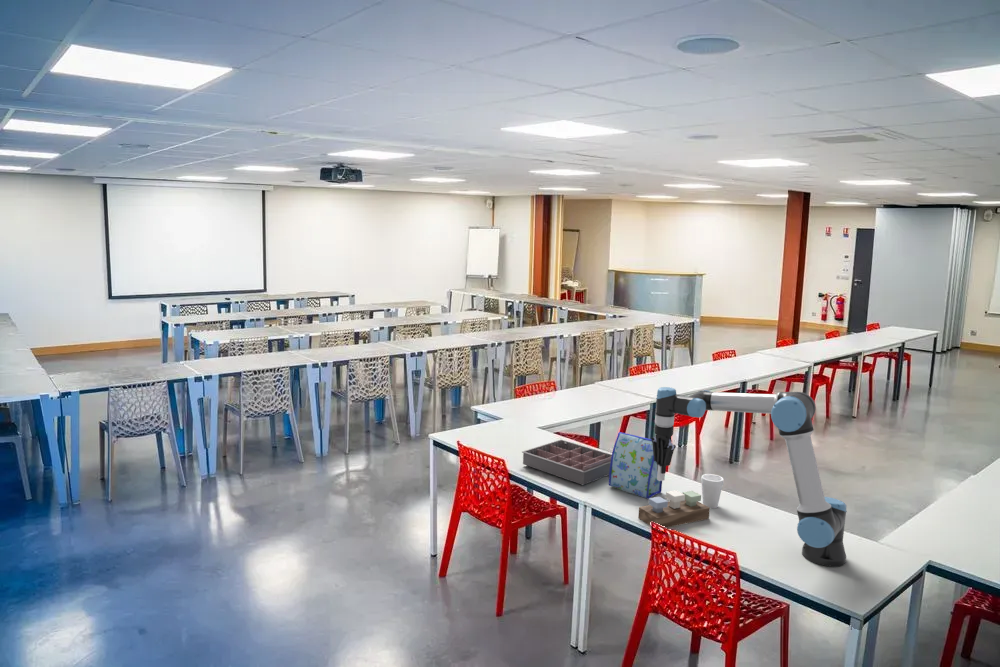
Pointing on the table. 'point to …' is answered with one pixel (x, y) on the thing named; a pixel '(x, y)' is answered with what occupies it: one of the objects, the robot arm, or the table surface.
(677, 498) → the cream key
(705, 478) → the foam cup
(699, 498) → the sage key
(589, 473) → the organizer tray
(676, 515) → the wooden socket block
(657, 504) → the slate key
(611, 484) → the lunch bag
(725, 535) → the table surface
